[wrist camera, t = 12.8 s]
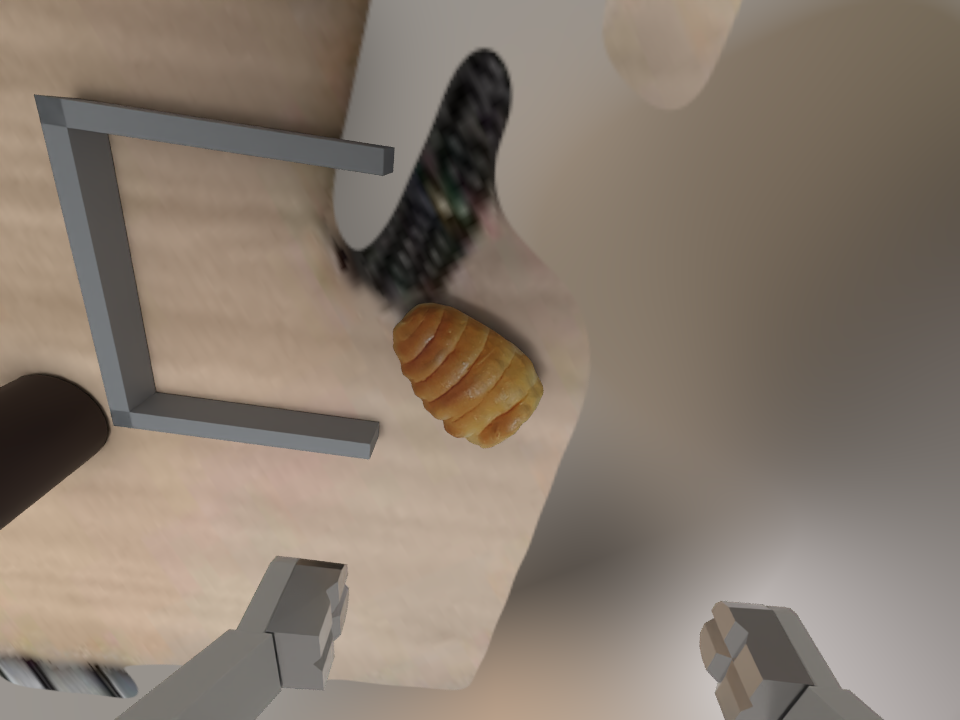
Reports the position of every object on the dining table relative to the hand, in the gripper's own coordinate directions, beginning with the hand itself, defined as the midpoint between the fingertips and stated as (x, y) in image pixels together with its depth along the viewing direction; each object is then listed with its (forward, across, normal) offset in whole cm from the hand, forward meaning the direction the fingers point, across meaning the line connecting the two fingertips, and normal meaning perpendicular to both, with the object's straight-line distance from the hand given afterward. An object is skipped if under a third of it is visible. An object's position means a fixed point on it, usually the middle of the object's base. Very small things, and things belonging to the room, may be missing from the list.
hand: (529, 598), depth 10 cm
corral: (+20, +15, +2) cm, 25 cm away
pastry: (+20, +2, +2) cm, 21 cm away
